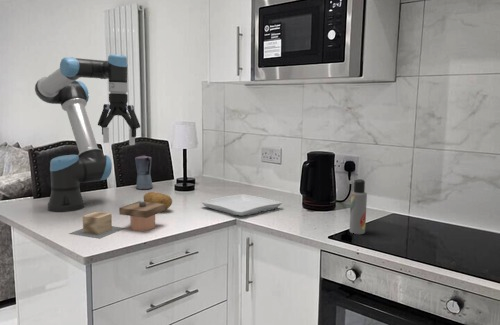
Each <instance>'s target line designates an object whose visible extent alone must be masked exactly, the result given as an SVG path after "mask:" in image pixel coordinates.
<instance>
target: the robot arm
mask: <svg viewBox="0 0 500 325" xmlns="http://www.w3.org/2000/svg"><path fill="white" fill-rule="evenodd" d="M127 57H128V56H126V55H124V54H109V55H108V56H107V60H101V59H91V58H90V59H88V58H80V57H79V58H78V57H73V56H71V57H70V56H69V57H63V58H62V59H61V61H60V63H59V68H58V69H55V71H53V72H52V73H50V74H49V75H48V76H42V77H41V78H39V79H38V80H37V82H36V83H35V86H34V93H35V95H36V96H37V97H38V98H39V99H40V100H41V101H42V102H45V103H47V104H54V105H60V106H61V109H62V110H63V111H65V112H66V113H67V117H68V120H69V124H70V127H71V130H72V133H73V136H74V139H75V140H74V141H75V143H76V146H77V150H78V154H69V155H68V154H67V155H66V154H65V155H59V156H56V157H54V158H52V159H50V161H49V162H50V163H49V164H50V165H49V172H50V189H51V191H50V197H49V201H48V203H47V210H48V211H50V212H60V213H61V212H72V211H77V210H81V209H83V208H85V201H84V199H83V195H82V192H81V189H80V184H82V183H84V184H85V183H93V182H100V181H105V180H107V179H108V178H110V176H111V174H112V167H113V166H112V165H113V164H112V160H111V159H112V158H110V156H109V155H107V154H106V155H105V154H104V151H103V150H102V149H101V148H99V147H98V144H97V141H96V138H95V134H94V131H93V129H92V126H91V123H90V120H89V116H88V114H87V110H86V106H87V103H88V102H89V98H90V96H89V94H90V93H89V90H88V86H86V84H85V83H84V82H82V81H81V80H78V79H81V78H88V79H90V78H91V79H101V80H108V92H109V93H108V103H107V104H106V103H103V108H102V111H101V114H100V117H99V120H98V122H97V126H99V127H100V128H101V135H102V136H103V137H102V142H103V144H108V143H110V128H109V124H110V123H111V122H112V120H113V119H114V117H115V116H119V117H120V116H121V117H122V118H123V119H124V121H125V122H126V124H127V125H128V127H129V129H128V131H129V132H128V139H129V140H128V141H129V143H128V144H129V146H135V145H136V138H137V129H139V128H141V124H140V122H139V119H138V117H137V114H136V112H135V106H134V105H133V104H129V105H128V102H129V100H128V96H129V95H128V92H129V91H128V90H129V89H128V66H129V65H128V58H127Z"/></svg>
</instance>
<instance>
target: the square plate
mask: <svg viewBox="0 0 500 325" xmlns="http://www.w3.org/2000/svg"><path fill="white" fill-rule="evenodd" d="M200 203H201V205H203V206H204V207H206V208H208V209H212V210H216V211H219V212H223V213H225V214H229V215H234V216H237V215H239V217H241V216H242V217H243V216H244V215H246V216H250V215H249V214H251V215H254V214H253V213H255V214H258V213H257V212H259V213H262V212H261V211H263V212H266V211H265V210H267V211H270V210H272V209H276V208H278V207H280V206H281V205H282V204H283V202H282V201H278V200H275V199H270V198H266V197H262V196H255V195H249V194H243V193H242V194H241V193H239V194H234V195H227V196H221V197H215V198H212V199H206V200H202V201H200ZM269 209H270V210H269ZM244 217H245V216H244Z"/></svg>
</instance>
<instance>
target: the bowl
mask: <svg viewBox="0 0 500 325" xmlns="http://www.w3.org/2000/svg"><path fill="white" fill-rule="evenodd" d="M129 218H130V222H129V224H130V229H131V230H134V231H148V230H153V229H154V228H156V225H157V224H156V214H155V215H153V216H150V217H148V218H143V217H135V216H129Z"/></svg>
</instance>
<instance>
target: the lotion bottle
mask: <svg viewBox="0 0 500 325" xmlns="http://www.w3.org/2000/svg"><path fill="white" fill-rule="evenodd" d="M353 183H354V184H353V191H351V193H350V207H349V208H350V212H349V232H350V234H353V233H354V234H355V235H363V234H365V233H366V219H367V202H368V201H367V200H368V199H367V198H368V197H367V195H368V193H367V192H365V190H366V181H365V180H364V179H359V178H358V179H354V181H353Z"/></svg>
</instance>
